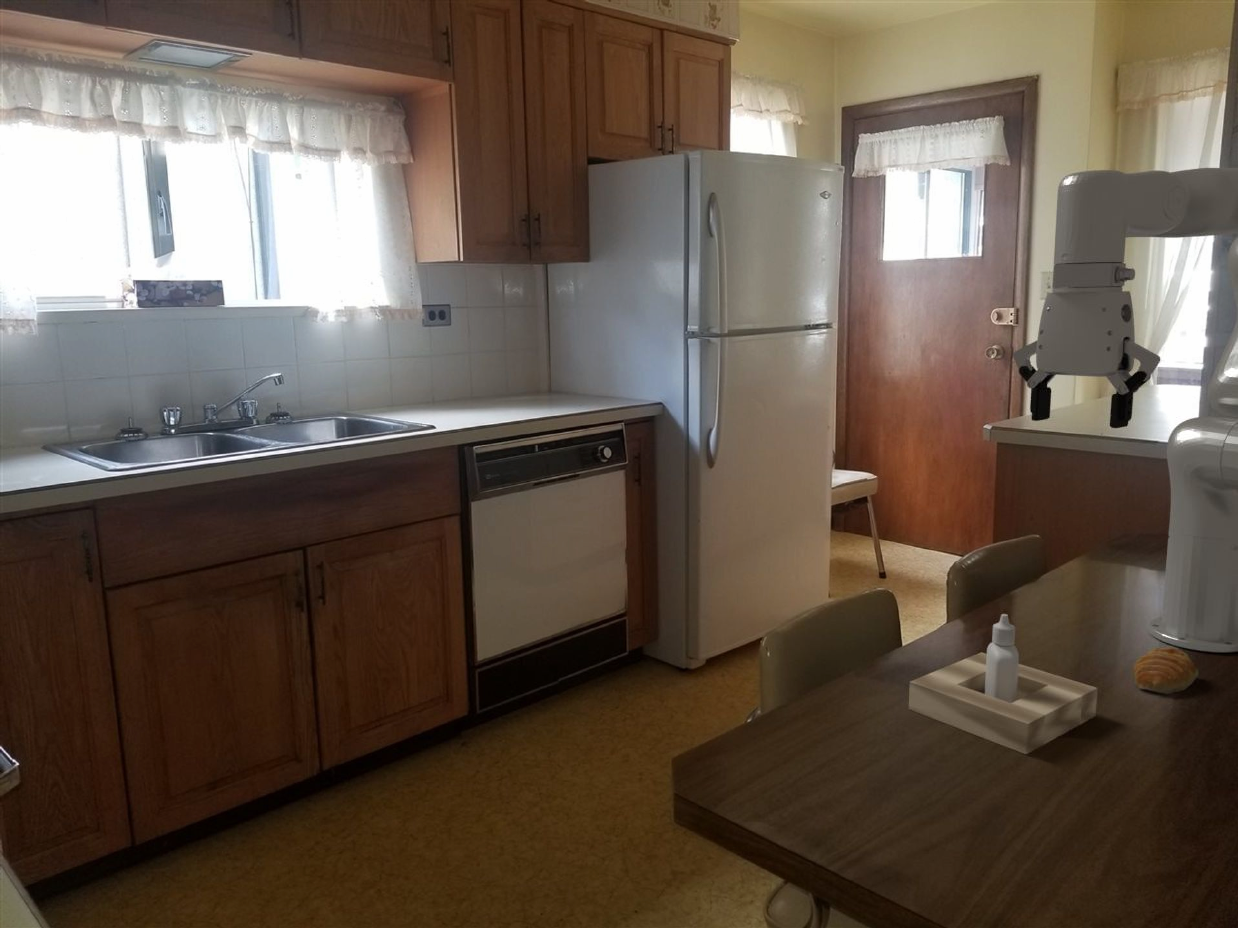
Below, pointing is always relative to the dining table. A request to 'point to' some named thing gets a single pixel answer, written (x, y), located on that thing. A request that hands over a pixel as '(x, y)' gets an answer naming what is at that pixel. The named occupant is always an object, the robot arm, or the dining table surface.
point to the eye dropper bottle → (1002, 662)
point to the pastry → (1164, 671)
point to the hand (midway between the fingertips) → (1078, 423)
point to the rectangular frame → (1003, 704)
